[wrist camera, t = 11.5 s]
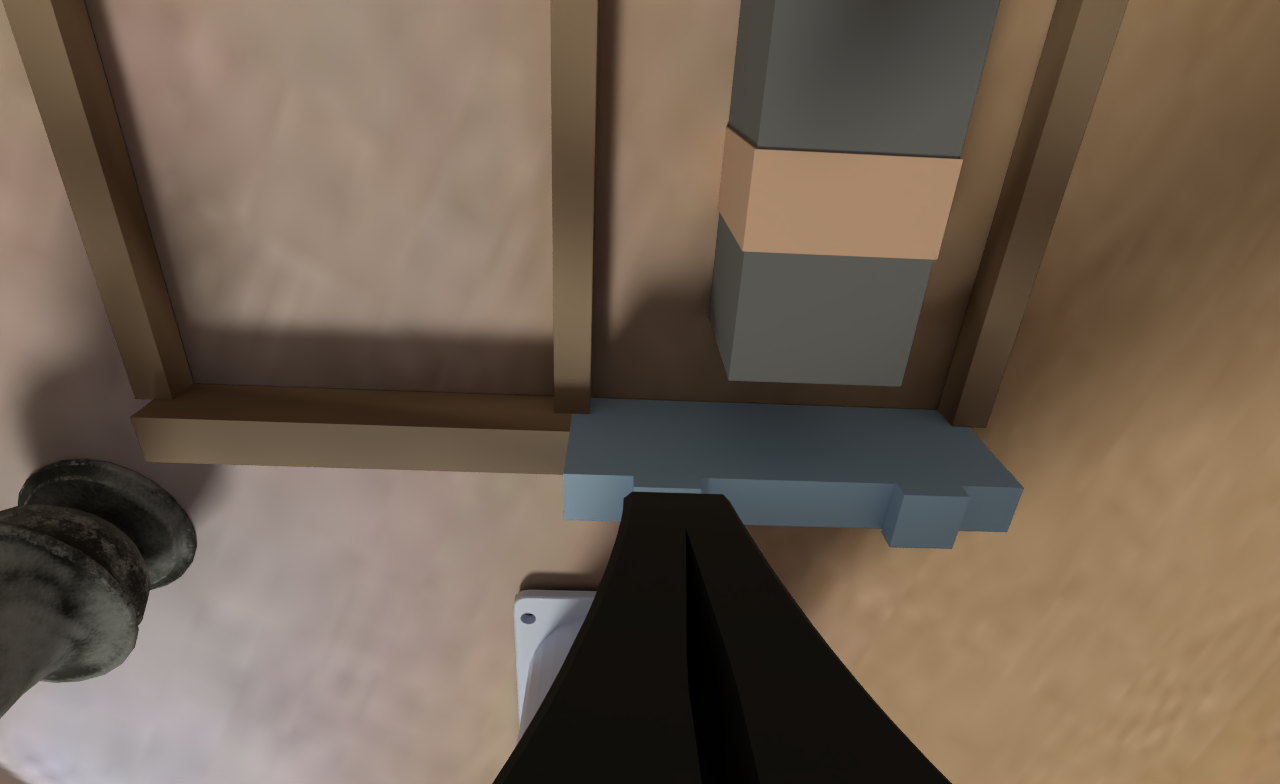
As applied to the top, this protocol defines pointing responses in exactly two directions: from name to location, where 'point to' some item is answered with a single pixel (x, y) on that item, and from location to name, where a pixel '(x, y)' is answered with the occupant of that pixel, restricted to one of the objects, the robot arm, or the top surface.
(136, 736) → the top surface
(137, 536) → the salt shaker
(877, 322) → the grey and tan block
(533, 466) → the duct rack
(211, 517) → the top surface
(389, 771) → the top surface
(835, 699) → the robot arm
